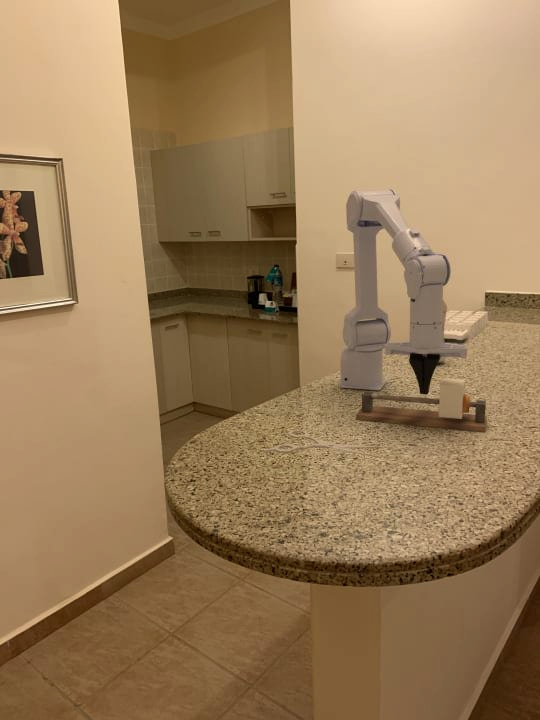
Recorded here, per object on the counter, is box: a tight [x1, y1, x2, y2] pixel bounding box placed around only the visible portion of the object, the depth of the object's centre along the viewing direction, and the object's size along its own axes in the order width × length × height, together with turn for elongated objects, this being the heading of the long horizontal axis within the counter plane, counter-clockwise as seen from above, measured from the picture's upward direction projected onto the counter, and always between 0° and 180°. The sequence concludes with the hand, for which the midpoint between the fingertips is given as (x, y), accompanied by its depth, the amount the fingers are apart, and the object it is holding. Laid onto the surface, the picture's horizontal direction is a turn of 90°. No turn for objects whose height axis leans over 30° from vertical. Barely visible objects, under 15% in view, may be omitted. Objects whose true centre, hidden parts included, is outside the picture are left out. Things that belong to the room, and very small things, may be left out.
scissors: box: [262, 429, 380, 458], centre depth 94 cm, size 11×1×20 cm
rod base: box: [355, 391, 488, 433], centre depth 103 cm, size 24×6×6 cm, turn 66°
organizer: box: [444, 310, 489, 341], centre depth 180 cm, size 13×5×35 cm
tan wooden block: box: [438, 377, 466, 419], centre depth 100 cm, size 4×4×6 cm
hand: (424, 392), depth 102 cm, fingers closed
